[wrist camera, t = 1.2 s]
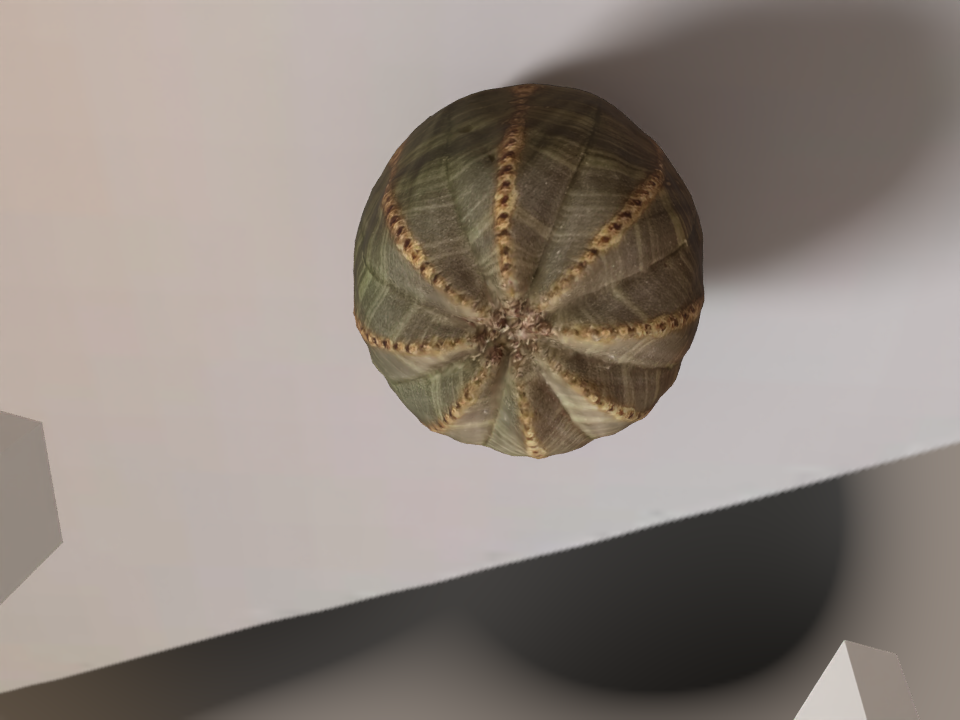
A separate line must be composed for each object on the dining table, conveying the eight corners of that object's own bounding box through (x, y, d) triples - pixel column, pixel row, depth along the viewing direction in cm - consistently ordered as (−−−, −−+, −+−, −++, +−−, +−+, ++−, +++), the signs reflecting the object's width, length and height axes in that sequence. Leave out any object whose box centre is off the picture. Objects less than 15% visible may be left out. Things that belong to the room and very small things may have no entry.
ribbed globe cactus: (578, 375, 33) (547, 568, 22) (371, 233, 31) (237, 370, 21) (754, 178, 27) (819, 315, 17) (512, -3, 26) (424, 26, 16)
